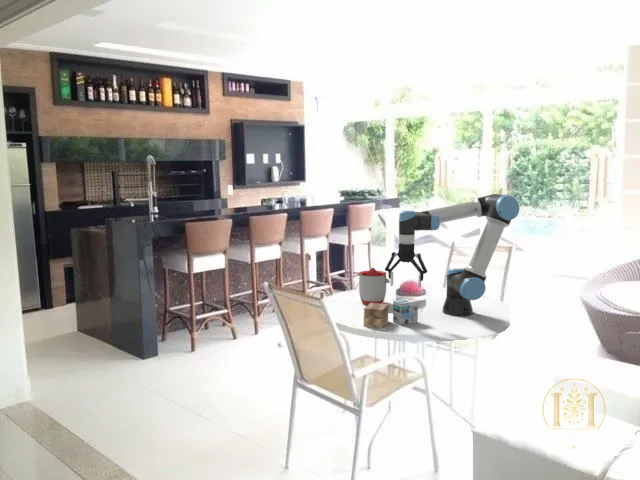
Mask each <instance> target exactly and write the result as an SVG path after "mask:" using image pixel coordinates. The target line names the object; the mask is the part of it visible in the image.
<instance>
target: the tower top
mask: <svg viewBox="0 0 640 480" xmlns="http://www.w3.org/2000/svg"><path fill="white" fill-rule="evenodd" d="M363 311H364V312H363V319H364V318H375V319H383V318H384V317H385V316H386V315H387V314H388V315H389V304H388V303H382V304H380V303H370V304H369V305H366V306H365V307H364V309H363Z"/></svg>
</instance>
